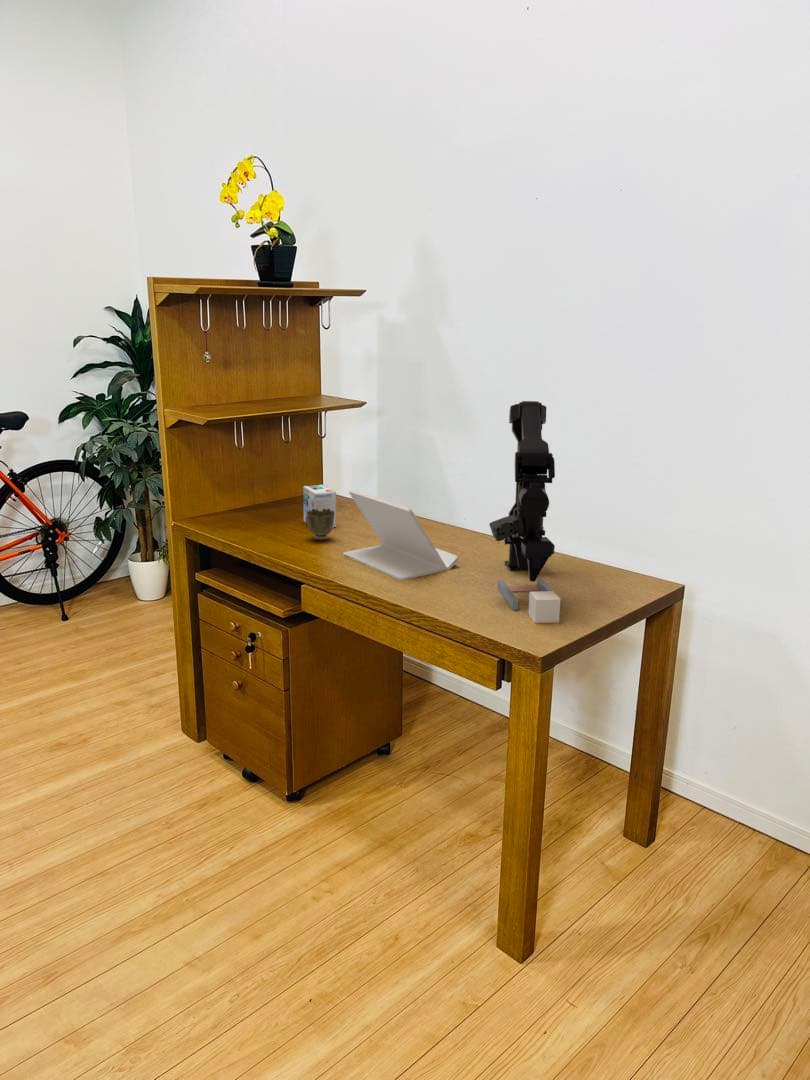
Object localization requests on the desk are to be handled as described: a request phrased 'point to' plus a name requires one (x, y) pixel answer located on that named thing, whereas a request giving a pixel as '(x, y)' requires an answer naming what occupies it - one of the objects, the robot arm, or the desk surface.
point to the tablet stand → (398, 541)
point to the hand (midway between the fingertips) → (526, 574)
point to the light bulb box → (319, 500)
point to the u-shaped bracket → (511, 597)
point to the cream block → (544, 606)
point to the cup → (320, 523)
